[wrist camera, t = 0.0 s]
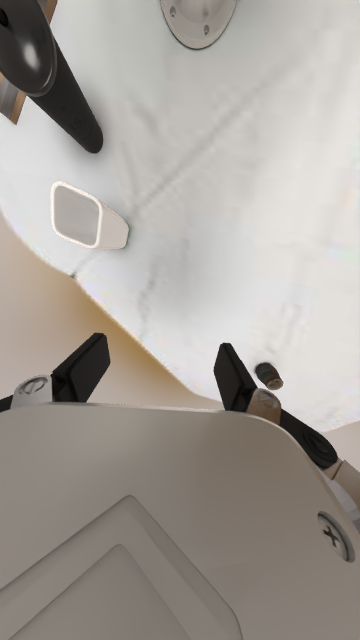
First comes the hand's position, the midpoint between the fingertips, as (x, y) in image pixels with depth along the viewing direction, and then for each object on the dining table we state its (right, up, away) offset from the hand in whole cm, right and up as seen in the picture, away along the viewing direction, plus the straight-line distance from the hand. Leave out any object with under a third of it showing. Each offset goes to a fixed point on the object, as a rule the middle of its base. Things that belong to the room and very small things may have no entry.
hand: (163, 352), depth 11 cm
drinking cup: (-16, +39, +16) cm, 46 cm away
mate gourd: (+34, -16, +43) cm, 57 cm away
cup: (-15, +25, +23) cm, 37 cm away
